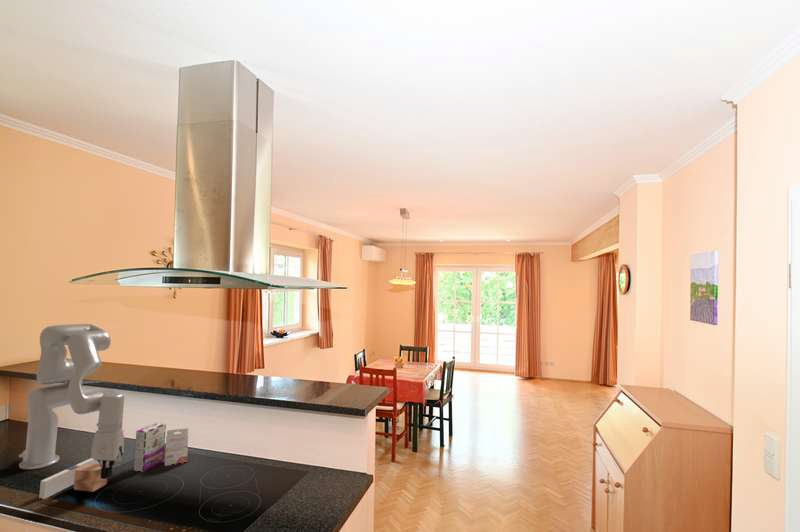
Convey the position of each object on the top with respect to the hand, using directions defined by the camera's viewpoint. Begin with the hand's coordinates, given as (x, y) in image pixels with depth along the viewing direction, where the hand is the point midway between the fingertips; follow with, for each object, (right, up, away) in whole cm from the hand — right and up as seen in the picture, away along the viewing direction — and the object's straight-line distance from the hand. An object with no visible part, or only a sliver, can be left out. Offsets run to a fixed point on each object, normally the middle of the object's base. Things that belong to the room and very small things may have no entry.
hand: (106, 476), depth 152 cm
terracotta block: (-6, -4, +1) cm, 7 cm away
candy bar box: (+4, -6, +19) cm, 21 cm away
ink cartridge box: (+13, -6, +24) cm, 28 cm away
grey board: (-15, -4, +2) cm, 15 cm away
